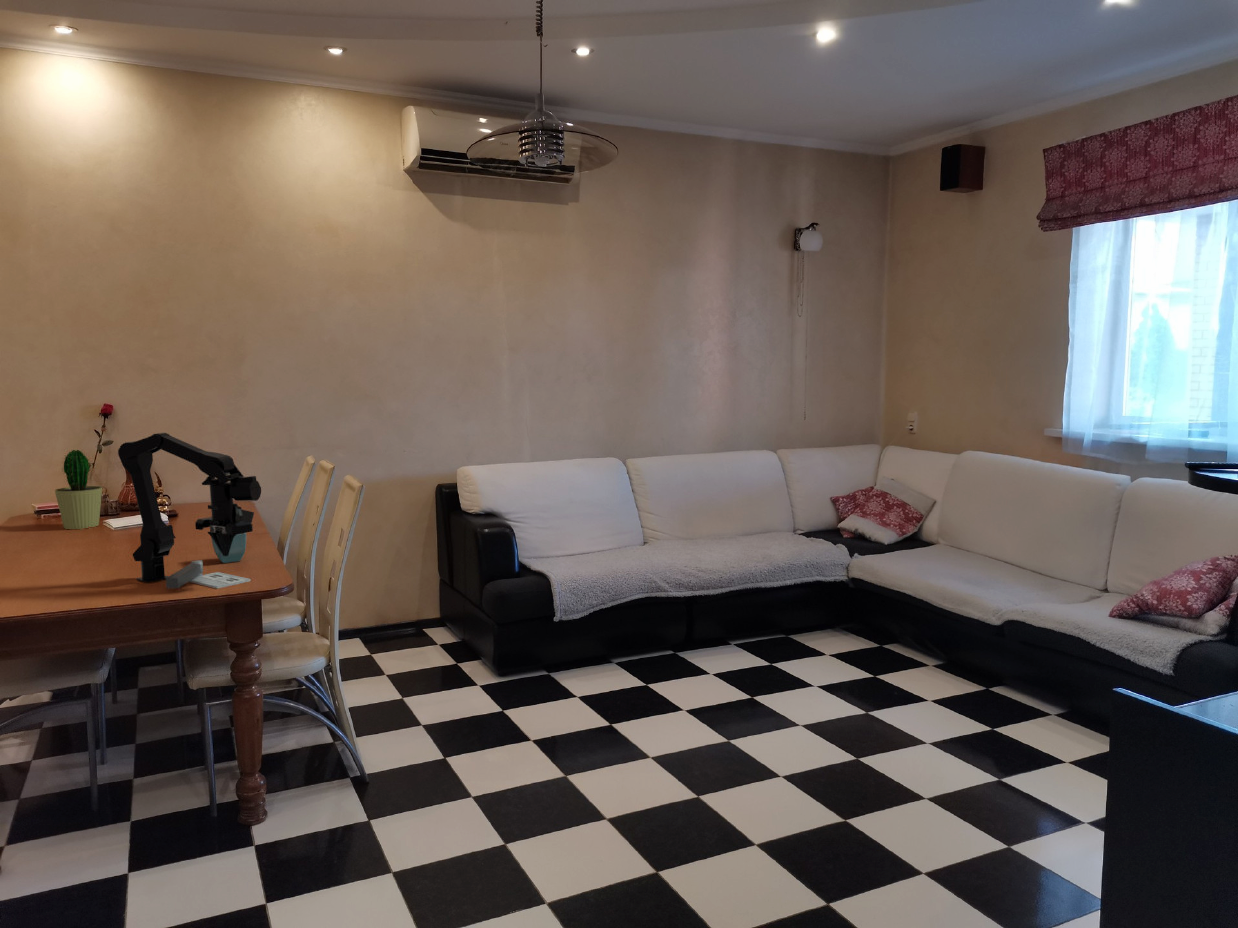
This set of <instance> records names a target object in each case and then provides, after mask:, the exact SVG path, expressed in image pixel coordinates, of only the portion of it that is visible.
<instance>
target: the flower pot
mask: <svg viewBox="0 0 1238 928" xmlns="http://www.w3.org/2000/svg"><path fill="white" fill-rule="evenodd" d="M210 539H211V543H212V547H213V551H214V554H215V555H216V556H217V559H219V561H220V562H221V563H223V564H227V563H228V564H229V563H235V562H240V561H241V560H242V559H243V557H244V555H245V552H246V547H247V533H241V534H237V535H236V536H235V537H234V538H233V541H232V544H231V548H230V551H229V555H228V556H223V555H222V553H221V551H220V550H219V548H218V547H217V545H216V543H215V542H214V540H213V539H212V537H211V536H210Z"/></svg>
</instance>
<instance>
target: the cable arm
mask: <svg viewBox="0 0 1238 928" xmlns="http://www.w3.org/2000/svg"><path fill="white" fill-rule="evenodd" d="M203 564H204V563H203V560H199V559H198V560H192V561H191V562H190V563H189V564H187V565H185V566H183V567H182V568H180V569H178V570H177V571H176V572H174V573H173V574H172V573H171V575H168V576H169V577H167V578H166V579H165V584H166V589H179V588H180V587H183V586H184V585H186V584H187V583H190V582H189V581H190V580H192V579H193V578H195V577H196V576H198V575H199V574H201V573H202V574H203V573H204V565H203Z"/></svg>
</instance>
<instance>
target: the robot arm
mask: <svg viewBox="0 0 1238 928" xmlns="http://www.w3.org/2000/svg"><path fill="white" fill-rule="evenodd" d="M161 450H162V451H164V452H166V453H169V454H171V455H173V456H174V457H178V458H180V459H182V460H184V461H187V462H189V463H191V464H193V465H195V466H197V469H199V470H200V471H201V472H202V473H203V474H205V475H206V476H207V477H206V478H205V480H203V481H202V482H201V485H202V486H209V493H210V494H209V495H210V504H208V505H207V510H210V511H211V516H209V517H203V518H198V519H197V520H196V521H194V523H195V524H194V525H195V530H199V531H202V530H204V529H207V528H209V531H207V534H208V535H209V536H210V538H211V537H212V539H213V540H214V542H215V543H216V545H217V547H218V548H219V550H220V551H221V553H222V555H223V556H228V555H229V551H230V548H231V544H232V541H233V538H234V537H235V536H236V535H237V534H241V533H246V534H247V533H251V532H254V529H253V528H254V526H253V525H254V524H253V519H254V515H255V512H254V511H250V510H247V509H246V510H245V509H242V506H239V505H238V503H235V502H234V501H237V502H238V501H239V502H240V501H242V502H243V501H244V502H246V501H248V502H249V501H250V502H255V501H258V500H259V499H260V498H261V494H262V486H261V485H260V482H259V481H258V480H257V476H256V475H249V476H244V475H243V474H242V472H241V471H240V469H239V468H238V467H237V466H236V465H235V462H234V459H233V458H232V457H231V456H230V455H227V454H224V453H219V452H214V451H207V450H204V449H203V448H200V447H197V446H195V445H193V444H191V443H188V442H186V441H183V440H181V439H179V438H176V437H174V436H172V435H170V434H169V433H167V432H158V433H153V434H152V435H149V436H147V437H144V438H142V439H139V440H136V441H135V440H134V441H127V442H124V443H121V445H120V446H119V448H118V449H117V455H118V457H119V460H120V462H121V465H122V467H123V468H124V469H125V470H126V472H128V474H129V475H130V477H131V480H132V485H133V488H134V493H135V497H136V502H137V505H138V510H139V513H140V518H141V522H142V527H141V531H140V534H139V537H140V545H139V546H138V547H137V549H136V550H135V551H133V553H132V557H133V559H134V561H135V562H140V566H141V567H140V568H141V577H137V578H136V581H139V582H143V583H149V584H150V583H154V582H159V581H164V580H165V581H166V578H167V577H169V576H170V575H165V574H166V573H165V572H166V571H165V562H164V560H165V559H164V557H166V556H167V557H168V556H170V552H171V549H172V548H173V546H174V545H175V539H176V536H175V534H174V533H175V532H174V528H173V525H172V524H167V523H165V521H163V518H162V514H161V510H160V505H159V501H158V498H157V493H156V489H155V486H154V481H153V478H152V477H153V476H152V473H151V469H152V465H153V462H154V457H153V456H154V455H153V454H155V453H157V452H159V451H161ZM212 539H211V540H212Z"/></svg>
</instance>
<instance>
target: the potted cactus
mask: <svg viewBox="0 0 1238 928" xmlns="http://www.w3.org/2000/svg"><path fill="white" fill-rule="evenodd" d="M86 455H87V454H85V452H83V450H80V449H79V450H78V449H73V450H71V451H68V453H66V455H64V457H62V458H61V459H63V465H62V466H61V469H63V474H65V477H66V482H65V484H66V483H67V485H68V487H61V488H56V489H55V490H54V492H55V497H56V502H57V505H58V509H59V513H60V518H61V521H62V526H63V529H64V528H65V529H64V530H66V529H80V530H84V529H83V528H88V527H95V526H98V525H100V515H101V503H102V502H101V501H102V493H103V490H102V489H103V486H100V485H88V484H89V482H88V480H90V477H89V476H90V473H91V472H90V471H91V467H92V466H91V465H92V464H91V463H93V462H91V463H89V460H88V457H87V456H86ZM98 527H99V526H98ZM95 528H96V527H95Z"/></svg>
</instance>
